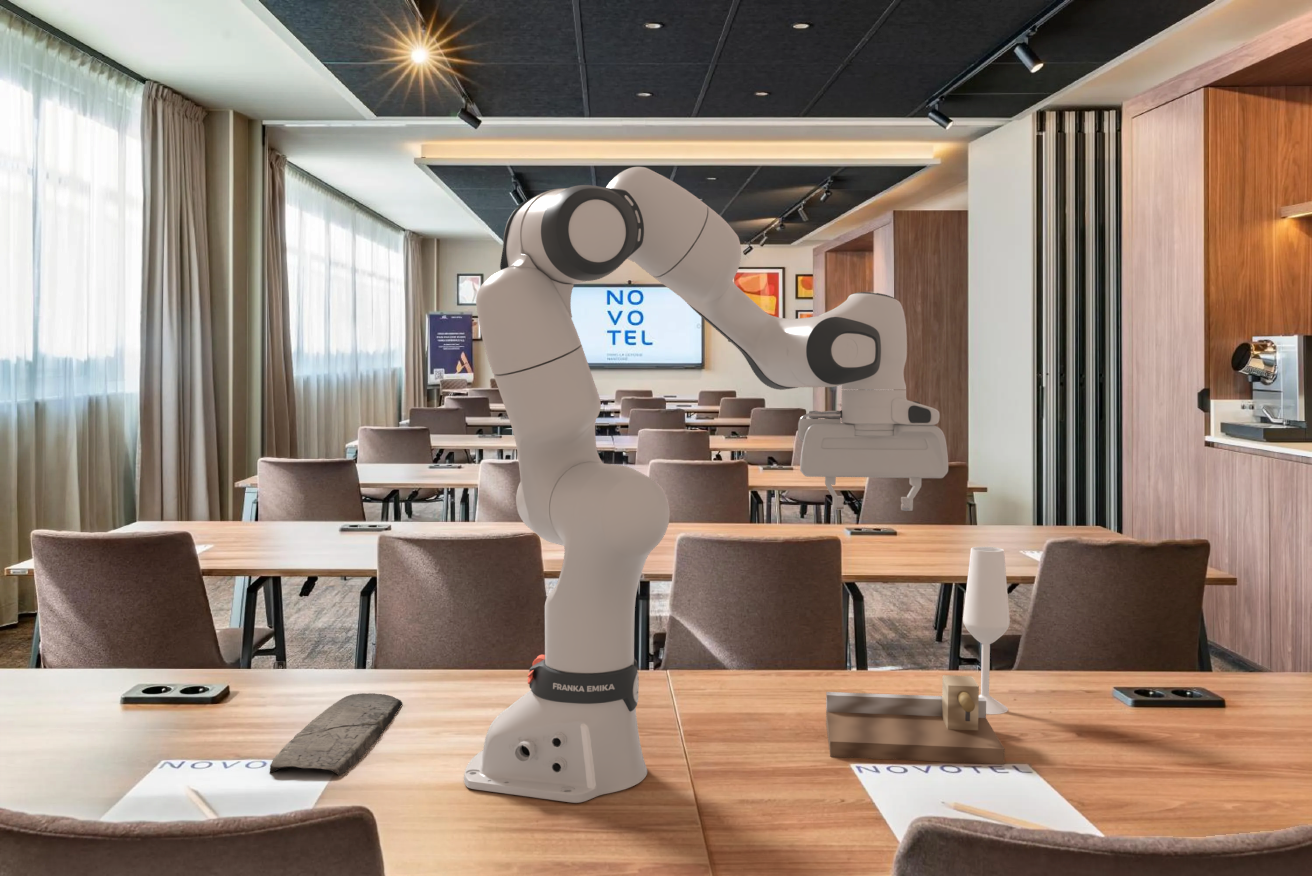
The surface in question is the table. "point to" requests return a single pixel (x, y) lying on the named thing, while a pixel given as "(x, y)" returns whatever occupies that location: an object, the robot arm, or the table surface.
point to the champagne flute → (987, 610)
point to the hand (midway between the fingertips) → (872, 509)
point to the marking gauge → (960, 702)
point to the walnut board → (905, 730)
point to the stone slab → (339, 734)
